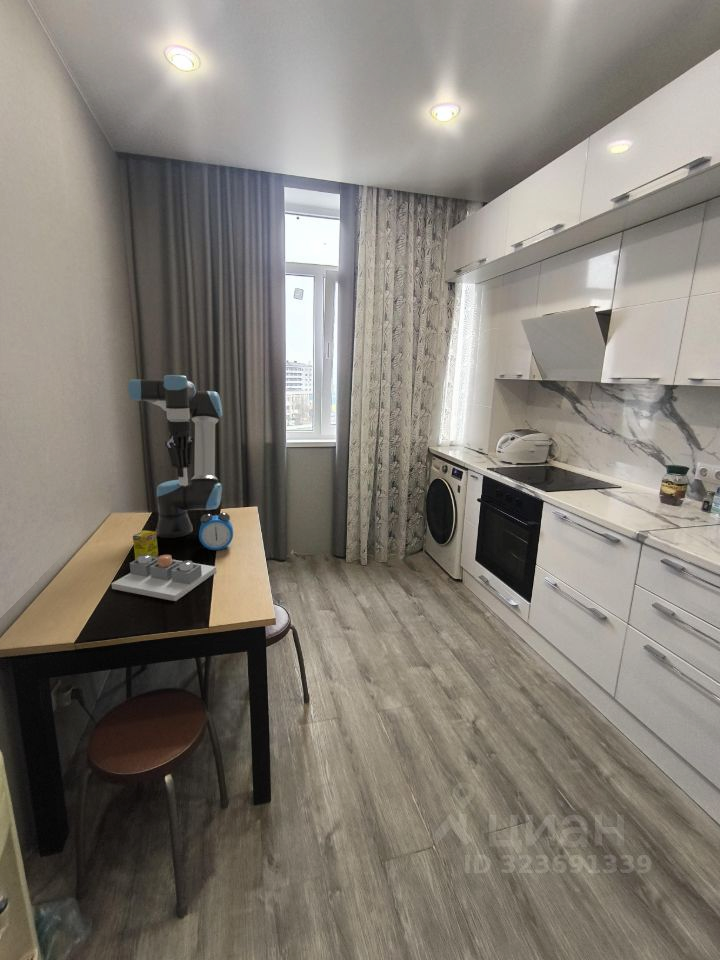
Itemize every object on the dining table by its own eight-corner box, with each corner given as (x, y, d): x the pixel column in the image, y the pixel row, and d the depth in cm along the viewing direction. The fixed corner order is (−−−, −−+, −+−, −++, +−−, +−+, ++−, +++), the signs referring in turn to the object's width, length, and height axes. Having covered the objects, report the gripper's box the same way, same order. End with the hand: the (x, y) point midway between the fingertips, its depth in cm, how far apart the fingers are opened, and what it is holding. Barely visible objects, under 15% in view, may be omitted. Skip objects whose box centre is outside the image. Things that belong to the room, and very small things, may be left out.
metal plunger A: (145, 566, 156) (143, 553, 155) (155, 567, 155) (154, 554, 154) (135, 571, 152) (134, 557, 151) (146, 573, 151) (145, 559, 150)
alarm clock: (200, 552, 175) (197, 517, 171) (200, 546, 181) (198, 512, 177) (233, 549, 179) (232, 514, 175) (233, 543, 184) (231, 510, 181)
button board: (159, 562, 165) (157, 547, 164) (216, 571, 159) (215, 556, 157) (112, 588, 145) (110, 572, 143) (175, 601, 138) (174, 584, 137)
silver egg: (185, 573, 151) (184, 559, 150) (196, 574, 150) (195, 561, 149) (177, 578, 147) (176, 564, 146) (188, 580, 146) (187, 566, 145)
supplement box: (149, 564, 163) (146, 537, 161) (135, 562, 165) (132, 535, 162) (159, 557, 169) (156, 531, 166) (145, 556, 170) (142, 529, 168)
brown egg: (165, 567, 154) (163, 554, 152) (175, 568, 152) (174, 555, 151) (156, 572, 149) (154, 559, 148) (166, 574, 148) (165, 560, 147)
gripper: (181, 417, 160) (186, 480, 166) (156, 421, 148) (162, 488, 154) (199, 418, 158) (203, 481, 164) (175, 422, 146) (180, 490, 152)
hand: (183, 484), depth 159 cm, fingers closed
